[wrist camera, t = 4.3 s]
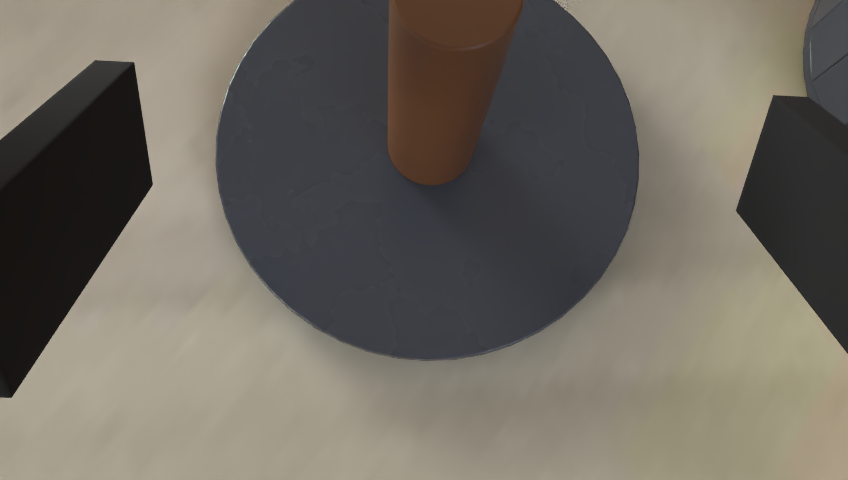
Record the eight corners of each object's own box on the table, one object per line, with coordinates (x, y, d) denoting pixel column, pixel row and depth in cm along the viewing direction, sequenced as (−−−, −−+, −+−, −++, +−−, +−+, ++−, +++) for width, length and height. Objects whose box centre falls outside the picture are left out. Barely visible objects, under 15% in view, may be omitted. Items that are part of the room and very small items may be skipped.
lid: (148, 257, 23) (-25, 143, 14) (331, -79, 27) (299, -368, 17) (542, 432, 23) (663, 448, 13) (680, 68, 26) (862, -144, 16)
